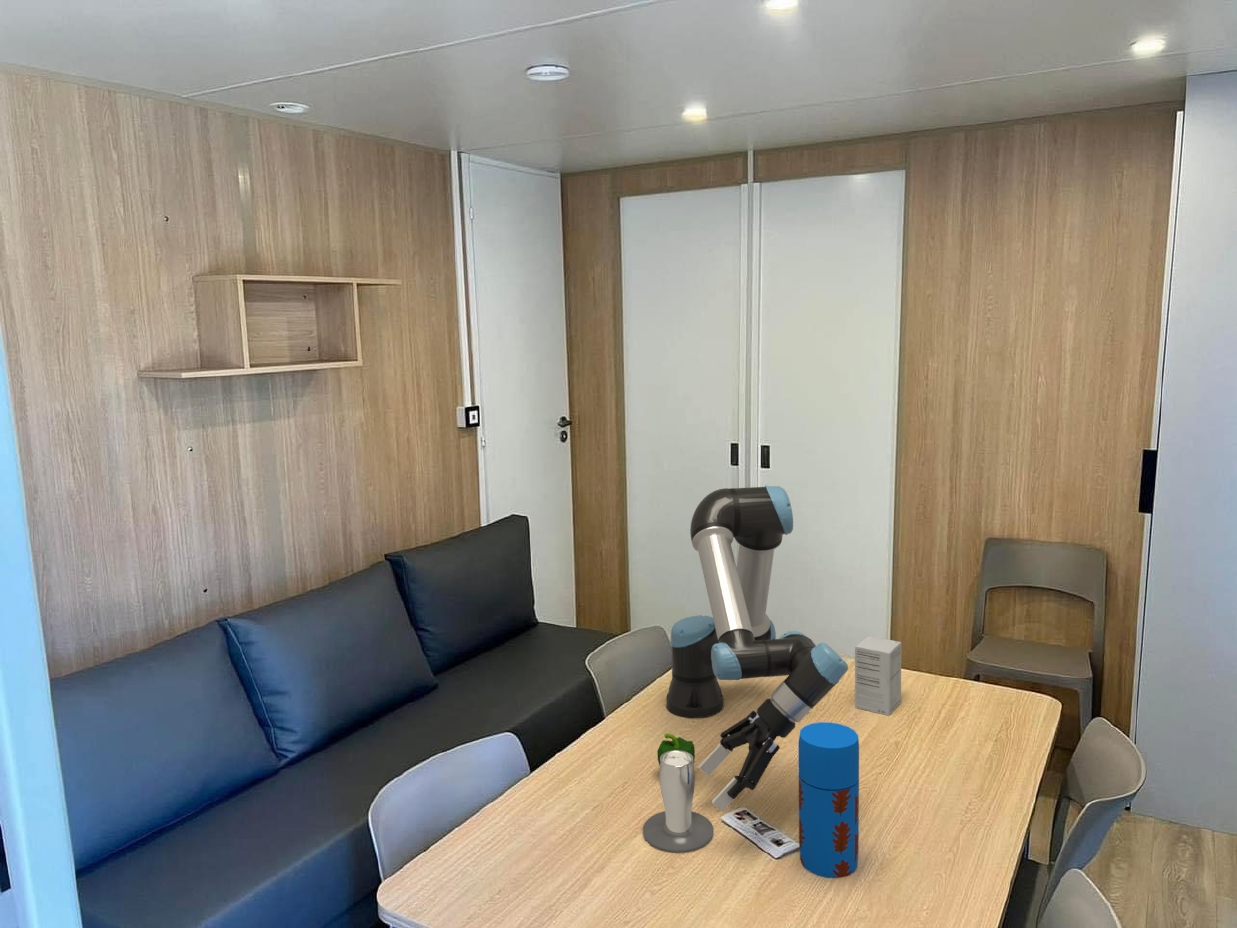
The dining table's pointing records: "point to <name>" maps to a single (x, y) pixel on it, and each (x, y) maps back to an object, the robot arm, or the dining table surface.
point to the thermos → (829, 799)
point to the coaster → (672, 844)
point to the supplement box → (878, 675)
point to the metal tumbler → (677, 792)
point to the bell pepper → (675, 746)
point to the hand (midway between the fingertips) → (709, 788)
